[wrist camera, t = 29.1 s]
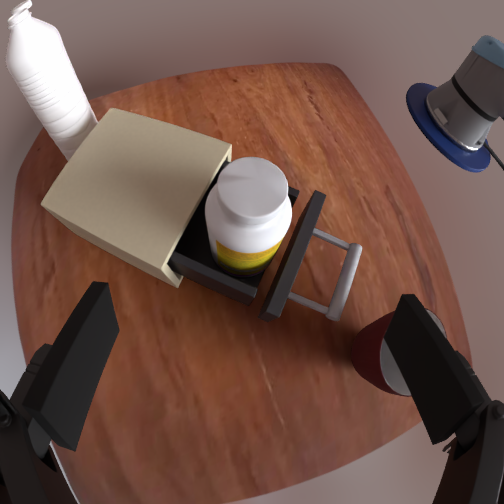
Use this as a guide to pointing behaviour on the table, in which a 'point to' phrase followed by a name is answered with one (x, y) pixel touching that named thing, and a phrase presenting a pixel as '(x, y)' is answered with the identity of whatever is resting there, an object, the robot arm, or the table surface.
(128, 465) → the table surface
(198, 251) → the dark grey drawer
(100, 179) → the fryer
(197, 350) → the table surface
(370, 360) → the mug
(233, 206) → the supplement bottle
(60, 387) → the robot arm
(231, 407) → the table surface
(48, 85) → the water bottle
